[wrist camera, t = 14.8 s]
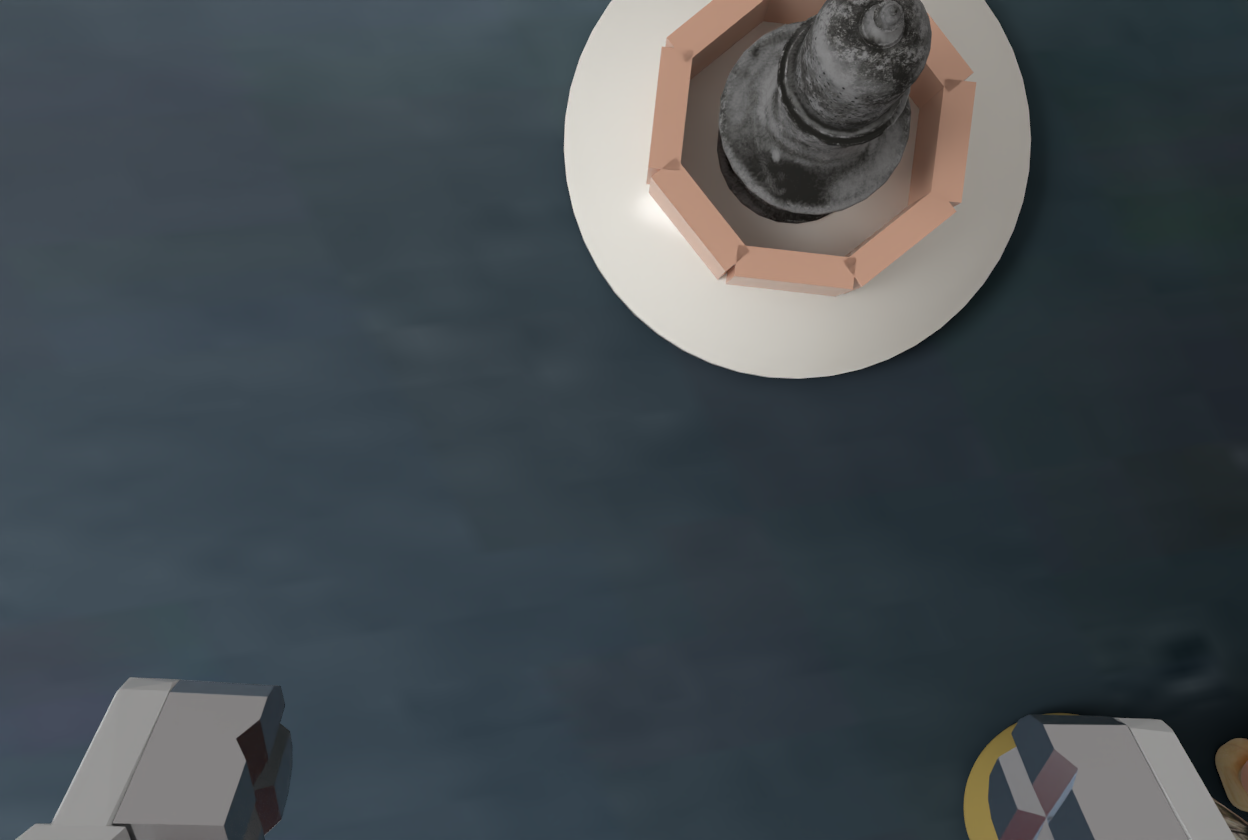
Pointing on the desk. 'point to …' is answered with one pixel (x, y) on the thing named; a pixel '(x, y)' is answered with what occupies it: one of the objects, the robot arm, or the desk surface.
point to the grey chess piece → (822, 108)
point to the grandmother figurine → (1234, 771)
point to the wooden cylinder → (978, 785)
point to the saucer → (785, 252)
